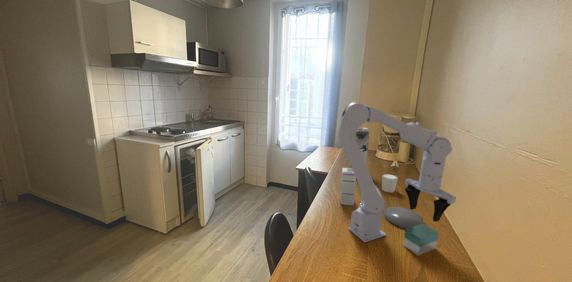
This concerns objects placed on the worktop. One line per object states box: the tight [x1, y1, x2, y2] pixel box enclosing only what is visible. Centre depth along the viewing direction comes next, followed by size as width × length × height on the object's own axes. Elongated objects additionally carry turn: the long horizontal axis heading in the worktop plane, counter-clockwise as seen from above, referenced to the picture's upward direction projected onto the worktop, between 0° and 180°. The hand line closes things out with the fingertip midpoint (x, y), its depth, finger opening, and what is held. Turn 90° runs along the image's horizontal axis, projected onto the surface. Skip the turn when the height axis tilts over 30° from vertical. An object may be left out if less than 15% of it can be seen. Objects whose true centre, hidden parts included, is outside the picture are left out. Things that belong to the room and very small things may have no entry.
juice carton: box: [349, 127, 370, 168], centre depth 128 cm, size 9×10×27 cm
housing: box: [403, 222, 439, 256], centre depth 69 cm, size 8×5×6 cm, turn 115°
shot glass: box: [381, 173, 398, 193], centre depth 109 cm, size 7×7×7 cm
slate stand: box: [383, 206, 425, 230], centre depth 85 cm, size 13×13×2 cm
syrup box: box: [339, 167, 357, 206], centre depth 96 cm, size 6×6×14 cm
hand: (424, 214), depth 72 cm, fingers open, 7 cm apart
